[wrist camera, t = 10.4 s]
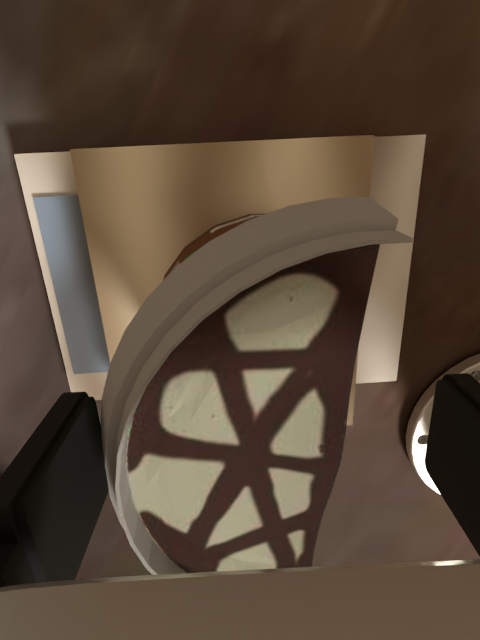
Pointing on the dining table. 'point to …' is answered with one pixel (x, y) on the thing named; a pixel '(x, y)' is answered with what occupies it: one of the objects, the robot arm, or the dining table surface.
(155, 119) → the dining table surface
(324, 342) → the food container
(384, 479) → the dining table surface
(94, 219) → the build base
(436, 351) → the dining table surface
